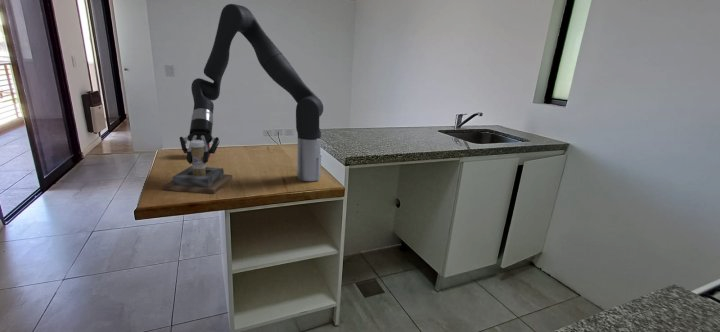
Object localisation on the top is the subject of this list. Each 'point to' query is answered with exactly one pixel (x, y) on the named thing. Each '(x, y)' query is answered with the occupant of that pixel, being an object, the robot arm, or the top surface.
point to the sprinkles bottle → (198, 157)
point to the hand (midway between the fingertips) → (197, 162)
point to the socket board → (200, 189)
